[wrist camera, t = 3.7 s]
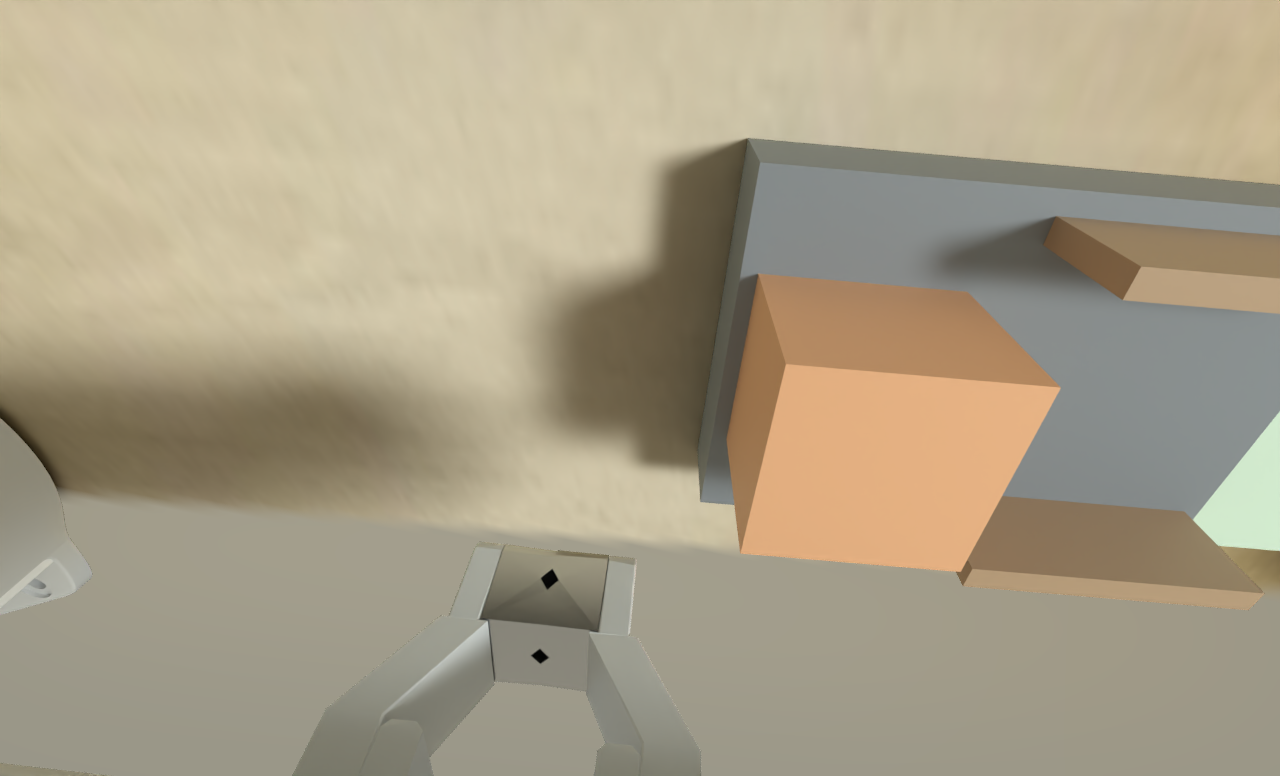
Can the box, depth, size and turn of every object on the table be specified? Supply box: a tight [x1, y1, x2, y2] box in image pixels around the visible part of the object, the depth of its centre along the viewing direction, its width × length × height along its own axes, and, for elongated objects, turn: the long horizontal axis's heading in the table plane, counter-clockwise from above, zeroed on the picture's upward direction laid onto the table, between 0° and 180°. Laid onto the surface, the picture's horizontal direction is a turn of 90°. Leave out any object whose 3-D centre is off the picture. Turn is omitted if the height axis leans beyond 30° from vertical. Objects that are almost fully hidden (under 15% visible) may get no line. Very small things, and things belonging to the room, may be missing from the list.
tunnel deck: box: [698, 138, 1280, 610], centre depth 19 cm, size 32×12×6 cm, turn 86°
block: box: [726, 274, 1061, 572], centre depth 17 cm, size 6×6×5 cm
